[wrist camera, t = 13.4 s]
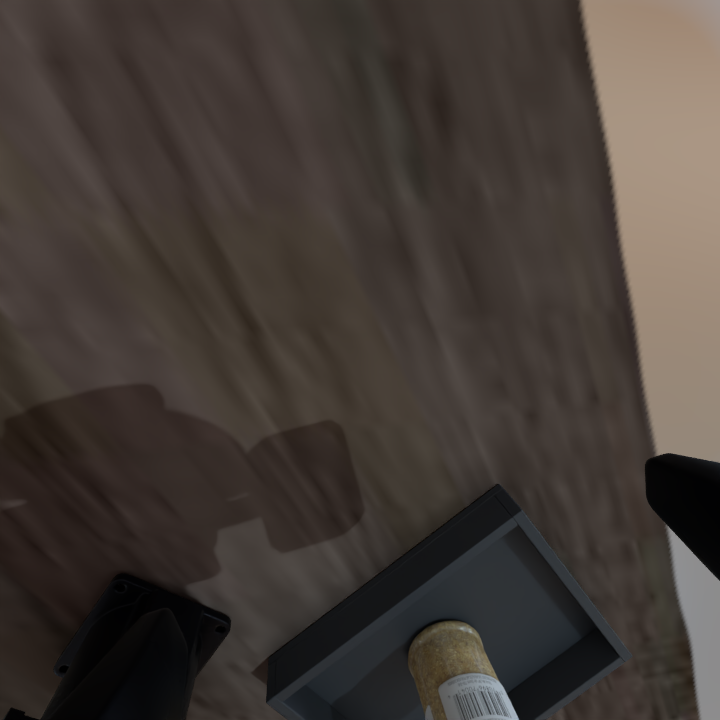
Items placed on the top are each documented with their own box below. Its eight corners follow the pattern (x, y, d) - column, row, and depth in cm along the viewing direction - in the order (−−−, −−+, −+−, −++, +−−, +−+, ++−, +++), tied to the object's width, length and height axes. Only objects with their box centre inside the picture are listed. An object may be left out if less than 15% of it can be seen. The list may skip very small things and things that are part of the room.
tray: (402, 767, 27) (412, 817, 25) (268, 657, 24) (265, 703, 21) (602, 620, 27) (633, 656, 24) (498, 483, 23) (522, 510, 21)
